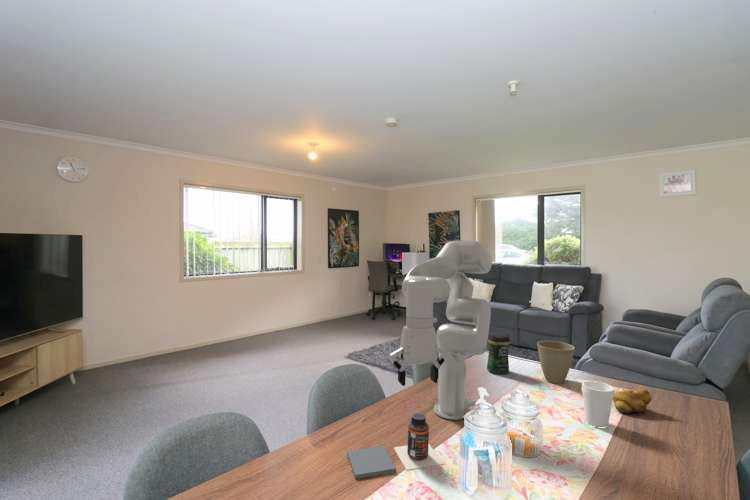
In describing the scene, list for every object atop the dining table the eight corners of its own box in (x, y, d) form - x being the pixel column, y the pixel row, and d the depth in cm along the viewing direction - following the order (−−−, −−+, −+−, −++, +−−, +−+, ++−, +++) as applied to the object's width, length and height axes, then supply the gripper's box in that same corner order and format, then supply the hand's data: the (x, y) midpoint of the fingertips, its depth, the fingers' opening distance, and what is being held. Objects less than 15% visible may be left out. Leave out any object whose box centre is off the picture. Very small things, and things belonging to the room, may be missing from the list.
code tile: (427, 442, 111) (427, 442, 111) (444, 463, 100) (444, 463, 100) (393, 447, 108) (393, 447, 108) (406, 470, 98) (406, 469, 98)
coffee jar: (493, 375, 168) (494, 335, 168) (484, 369, 176) (485, 331, 175) (512, 373, 171) (512, 334, 170) (502, 368, 178) (502, 330, 178)
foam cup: (577, 423, 124) (578, 385, 123) (584, 414, 131) (585, 378, 130) (610, 434, 117) (611, 393, 117) (615, 423, 124) (616, 385, 124)
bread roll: (627, 418, 128) (627, 395, 128) (602, 406, 138) (603, 385, 138) (654, 413, 132) (654, 391, 132) (628, 402, 141) (629, 381, 141)
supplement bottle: (414, 463, 100) (415, 422, 100) (403, 452, 106) (403, 413, 105) (432, 457, 103) (433, 418, 103) (420, 447, 108) (421, 409, 108)
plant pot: (580, 387, 155) (581, 350, 155) (545, 386, 155) (546, 349, 155) (563, 374, 170) (563, 340, 170) (531, 374, 170) (531, 340, 170)
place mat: (383, 449, 107) (383, 445, 107) (395, 472, 97) (395, 468, 97) (347, 454, 104) (347, 451, 104) (355, 478, 94) (355, 475, 94)
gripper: (441, 318, 109) (440, 375, 109) (386, 320, 105) (385, 380, 105) (453, 324, 102) (452, 385, 102) (394, 326, 97) (393, 390, 98)
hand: (418, 382), depth 103 cm, fingers open, 9 cm apart
